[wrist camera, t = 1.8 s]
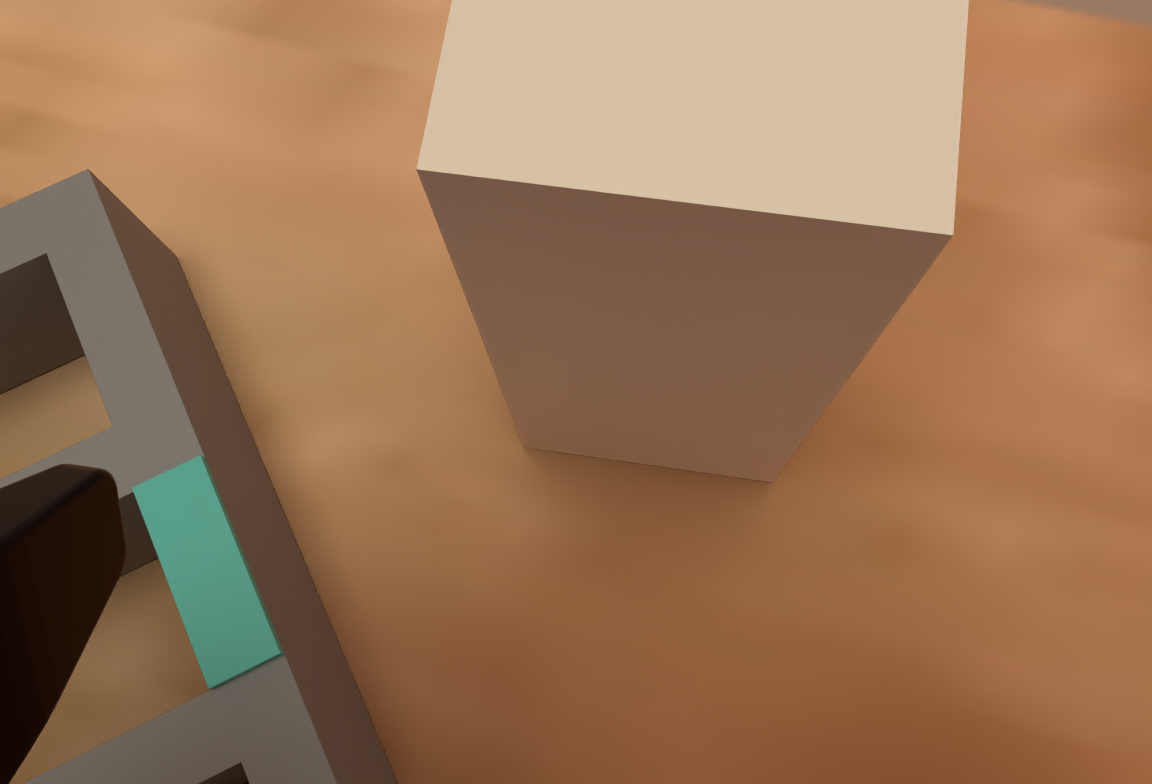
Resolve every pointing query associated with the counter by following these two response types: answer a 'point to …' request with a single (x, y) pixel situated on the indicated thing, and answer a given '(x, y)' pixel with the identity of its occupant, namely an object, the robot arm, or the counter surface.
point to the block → (690, 209)
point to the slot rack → (181, 504)
